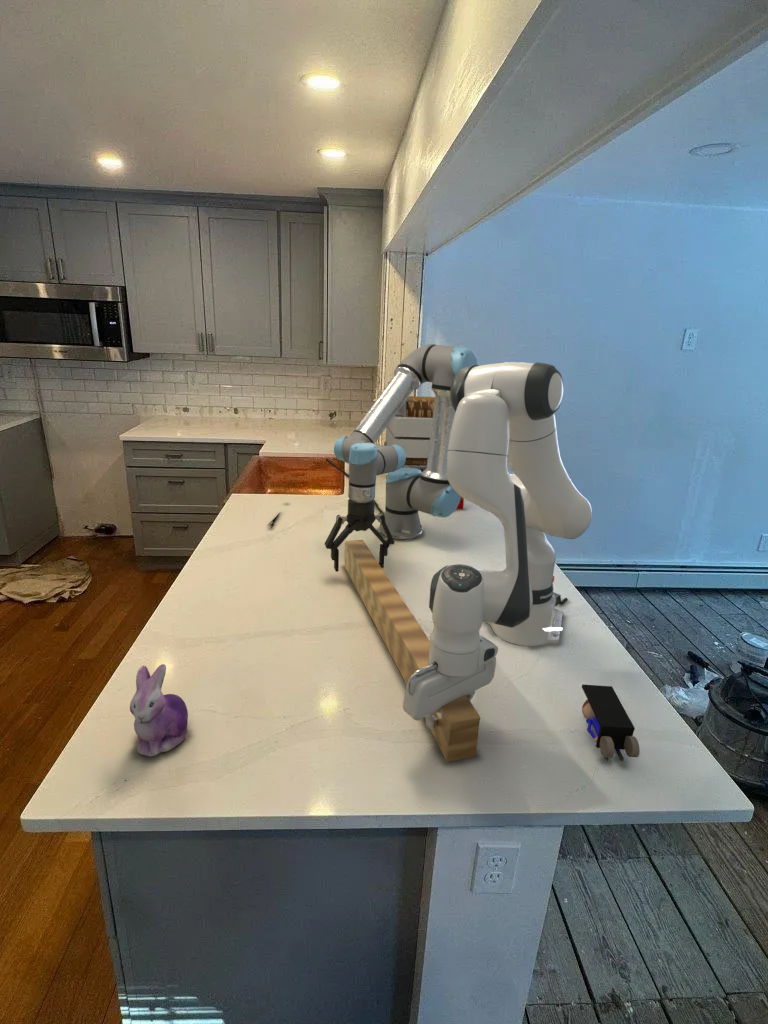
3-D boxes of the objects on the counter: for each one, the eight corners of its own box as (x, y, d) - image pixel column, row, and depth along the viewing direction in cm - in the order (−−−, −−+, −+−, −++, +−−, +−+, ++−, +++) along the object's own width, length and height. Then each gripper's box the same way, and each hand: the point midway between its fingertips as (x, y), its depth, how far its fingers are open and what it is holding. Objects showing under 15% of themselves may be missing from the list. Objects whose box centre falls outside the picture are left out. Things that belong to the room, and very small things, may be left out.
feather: (287, 506, 225) (290, 502, 224) (270, 530, 198) (272, 526, 198) (283, 504, 225) (286, 500, 224) (265, 527, 198) (268, 523, 197)
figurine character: (636, 775, 100) (605, 711, 114) (646, 744, 97) (613, 682, 111) (599, 774, 100) (572, 710, 114) (608, 744, 97) (579, 681, 110)
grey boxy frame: (382, 463, 289) (386, 382, 275) (445, 464, 293) (451, 384, 279) (390, 482, 257) (394, 392, 243) (460, 483, 261) (468, 394, 247)
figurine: (137, 767, 96) (127, 693, 90) (132, 728, 104) (122, 659, 99) (195, 750, 100) (189, 678, 95) (185, 714, 108) (179, 646, 103)
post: (344, 566, 173) (344, 540, 170) (362, 565, 174) (363, 539, 171) (446, 762, 100) (450, 722, 97) (475, 756, 101) (480, 717, 99)
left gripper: (319, 505, 152) (319, 576, 159) (407, 501, 159) (403, 569, 166) (315, 496, 159) (314, 565, 166) (399, 493, 166) (395, 559, 173)
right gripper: (421, 684, 93) (416, 751, 98) (504, 644, 105) (496, 706, 110) (397, 665, 98) (393, 729, 102) (479, 629, 110) (472, 688, 114)
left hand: (358, 567), depth 166 cm, fingers open, 13 cm apart
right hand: (447, 717), depth 106 cm, fingers closed on post, 7 cm apart
